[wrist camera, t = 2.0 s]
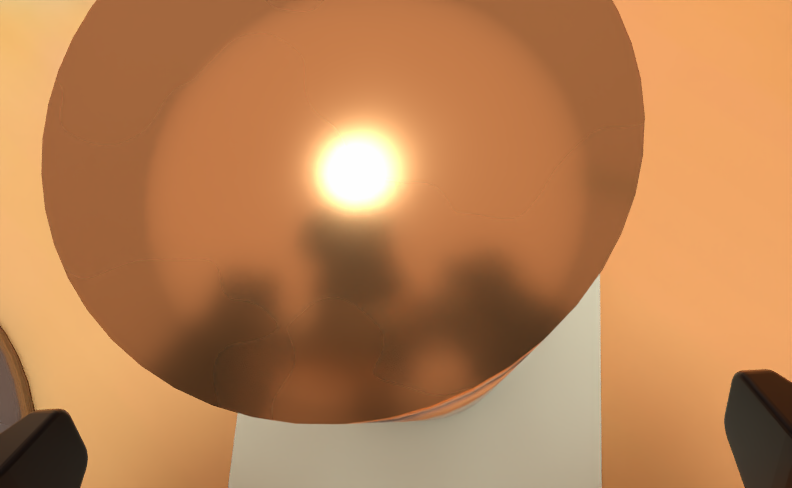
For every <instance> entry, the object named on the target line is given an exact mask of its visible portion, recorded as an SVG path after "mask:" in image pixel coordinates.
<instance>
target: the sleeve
mask: <svg viewBox="0 0 792 488" xmlns="http://www.w3.org/2000/svg"><path fill="white" fill-rule="evenodd" d="M644 120H645V115H644V105H643V95H642V86H641V78H640V74H639V70H638V66H637V62H636V58H635V54H634V51H633V47H632V43H631V40H630V38H629V36H628V33H627V31H626V29H625V26H624V24H623V21H622V19H621V17H620V14H619V12H618V10H617V8H616V6H615V5H614V3H613V1H612V0H96V2H95V3H94V4H93V6H92V7H91V8H90V10H89V12H88V13H87V15H86V17H85V19H84V20H83V22H82V24H81V25H80V27H79V29H78V30H77V32H76V34H75V35H74V37H73V39H72V41H71V43H70V46H69V48H68V50H67V52H66V55H65V57H64V59H63V62H62V64H61V66H60V68H59V71H58V74H57V77H56V81H55V84H54V87H53V91H52V94H51V97H50V100H49V104H48V110H47V116H46V122H45V128H44V134H43V144H42V183H43V192H44V202H45V210H46V214H47V218H48V222H49V226H50V230H51V234H52V238H53V242H54V245H55V248H56V250H57V252H58V255H59V257H60V260H61V262H62V264H63V267H64V269H65V272H66V274H67V277H68V279H69V280H70V282H71V284H72V285H73V287H74V289H75V290H76V292H77V294H78V295H79V297H80V299H81V300H82V302H83V304H84V305H85V307H86V309H87V310H88V311H89V313H90V314H91V315H92V316H93V317H94V319H95V320H96V321H97V322H98V323H99V325H100V326H101V327H102V328H103V330H104V331H105V332H106V333H107V334H108V336H109V337H110V338H111V339H112V340H113V341H114V342H115V343H116V344H117V345H118V346H120V347H121V348H122V349H123V350H124V351H125V352H126V353H127V354H129V355H130V356H131V357H132V358H133V359H134V360H135V361H136V362H137V363H139V364H140V365H141V366H142V367H144V368H145V369H147V370H148V371H150V372H151V373H153V374H154V375H156V376H158V377H159V378H161V379H162V380H164V381H165V382H167V383H168V384H170V385H171V386H173V387H174V388H176V389H178V390H181V391H183V392H185V393H187V394H189V395H191V396H193V397H196V398H198V399H200V400H202V401H204V402H206V403H209V404H211V405H213V406H217V407H220V408H223V409H227V410H230V411H233V412H237V413H240V414H243V415H247V416H250V417H254V418H261V419H267V420H274V421H281V422H287V423H294V424H358V423H384V422H410V421H430V420H438V419H443V418H446V417H450V416H453V415H456V414H458V413H460V412H463V411H465V410H467V409H468V408H470V407H472V406H474V405H475V404H477V403H478V402H479V401H480V400H482V399H483V398H484V397H486V396H487V395H488V394H489V393H490V392H491V391H492V390H493V389H494V388H495V387H496V386H497V385H498V384H499V383H500V382H501V381H502V380H503V379H504V378H505V377H506V376H507V375H508V374H509V373H510V372H511V371H512V370H513V369H514V368H515V367H516V366H517V365H518V364H519V363H521V362H522V361H523V360H524V359H525V358H526V357H527V356H528V355H529V354H530V353H531V352H532V351H533V350H534V349H535V348H536V347H537V346H538V345H539V344H540V343H541V342H542V341H543V340H544V339H545V338H546V337H547V336H548V335H549V334H550V333H551V332H552V331H553V330H554V329H555V328H556V327H557V326H558V325H559V324H560V322H561V321H562V320H563V319H564V318H565V317H566V316H567V315H568V314H569V313H570V312H571V311H572V310H573V309H574V308H575V307H576V306H577V304H578V303H579V302H580V300H581V299H582V297H583V296H584V295H585V293H586V292H587V291H588V289H589V288H590V286H591V285H592V284H593V282H594V281H595V279H596V278H597V277H598V275H599V274H600V272H601V271H602V269H603V268H604V266H605V264H606V262H607V260H608V258H609V256H610V254H611V252H612V250H613V248H614V247H615V245H616V243H617V241H618V239H619V237H620V235H621V233H622V230H623V228H624V225H625V222H626V219H627V216H628V213H629V211H630V208H631V205H632V202H633V199H634V196H635V193H636V188H637V183H638V178H639V173H640V167H641V162H642V157H643V142H644Z"/></svg>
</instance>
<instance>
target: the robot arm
mask: <svg viewBox="0 0 792 488" xmlns="http://www.w3.org/2000/svg"><path fill="white" fill-rule="evenodd" d="M724 424H725V431H726V435H727V438H728V441H729V444H730V447H731V450H732V453H733V455H734V458H735V461H736V464H737V467H738V470H739V472H740V475H741V478H742V481H743V484H744V487H745V488H792V382H790V381H789V380H787V379H786V378H784V377H782V376H781V375H779V374H778V373H776V372H774V371H771V370H766V369H763V370H744V371H739V372H737V373H736V374H735V375H734V377H733V379H732V383H731V388H730V393H729V398H728V402H727V407H726V412H725V418H724ZM87 460H88V455H87V449H86V447H85V445H84V443H83V441H82V439H81V437H80V435H79V432H78V430H77V428H76V426H75V424H74V422H73V420H72V418H71V416H70V415H69V413H68V412H66V411H65V410H63V409H45V410H36V411H33V412H31V413H29V414H28V415H26V416H25V417H23V418H22V419H20V420H19V421H18V422H16V423H15V424H13V425H12V426H10V427H9V428H7V429H6V430H5V431H3V432H2V433H0V488H80V487H81V483H82V480H83V477H84V474H85V471H86V467H87Z"/></svg>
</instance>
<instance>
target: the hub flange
mask: <svg viewBox="0 0 792 488" xmlns="http://www.w3.org/2000/svg"><path fill="white" fill-rule="evenodd" d="M33 411H34V408H33V404H32V399H31V395H30V390H29V386H28V382H27V379H26V377H25V374H24V371H23V368H22V366H21V363H20V360H19V358H18V355H17V354H16V352H15V350H14V348H13V346H12V345H11V343H10V341H9V339H8V337H7V335H6V334H5V332H4V331H3V330H2V328H1V327H0V433H2V432H3V431H5V430H6V429H7V428H9V427H10V426H12V425H13V424H15V423H16V422H18V421H19V420H20V419H22V418H23V417H25V416H26V415H28V414H29V413H31V412H33Z"/></svg>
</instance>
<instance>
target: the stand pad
mask: <svg viewBox="0 0 792 488" xmlns="http://www.w3.org/2000/svg"><path fill="white" fill-rule="evenodd" d="M228 488H602V454H601V345H600V274H599V275H598V277H597V278H596V279H595V281H594V282H593V284H592V285H591V286H590V288H589V289H588V291H587V292H586V293H585V295H584V296H583V297H582V299H581V300H580V302H579V303H578V304H577V306H576V307H575V308H574V309H573V310H572V311H571V312H570V313H569V314H568V315H567V316H566V317H565V318H564V319H563V320H562V321H561V322H560V324H559V325H558V326H557V327H556V328H555V329H554V330H553V331H552V332H551V333H550V334H549V335H548V336H547V337H546V338H545V339H544V340H543V341H542V342H541V343H540V344H539V345H538V346H537V347H536V348H535V349H534V350H533V351H532V352H531V353H530V354H529V355H528V356H527V357H526V358H525V359H524V360H523V361H522V362H521V363H519V364H518V365H517V366H516V367H515V368H514V369H513V370H512V371H511V372H510V373H509V374H508V375H507V376H506V377H505V378H504V379H503V380H502V381H501V382H500V383H499V384H498V385H497V386H496V387H495V388H494V389H493V390H492V391H491V392H490V393H489V394H488V395H487V396H486V397H484V398H483V399H482V400H480V401H479V402H478V403H477V404H475V405H474V406H472V407H470V408H468V409H467V410H465V411H463V412H460V413H458V414H456V415H453V416H450V417H446V418H443V419H438V420H430V421H410V422H384V423H358V424H294V423H287V422H281V421H274V420H267V419H261V418H254V417H250V416H247V415H243V414H240V413H238V415H237V423H236V430H235V438H234V445H233V453H232V460H231V468H230V475H229V483H228Z"/></svg>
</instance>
